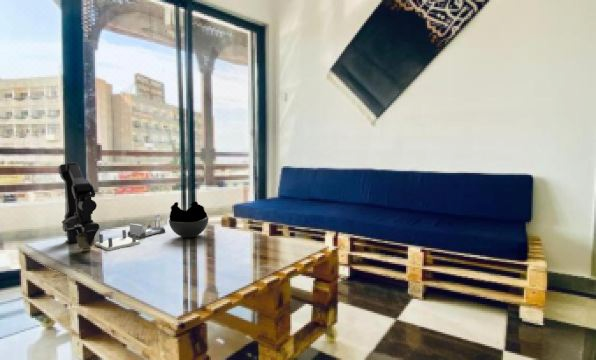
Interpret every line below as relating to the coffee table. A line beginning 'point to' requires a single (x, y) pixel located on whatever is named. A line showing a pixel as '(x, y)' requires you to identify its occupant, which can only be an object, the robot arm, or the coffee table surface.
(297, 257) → the coffee table surface
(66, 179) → the robot arm
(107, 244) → the peg stand
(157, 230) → the toy car
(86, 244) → the dark brown ornate lampshade
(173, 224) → the coal bowl
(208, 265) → the coffee table surface
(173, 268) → the coffee table surface
